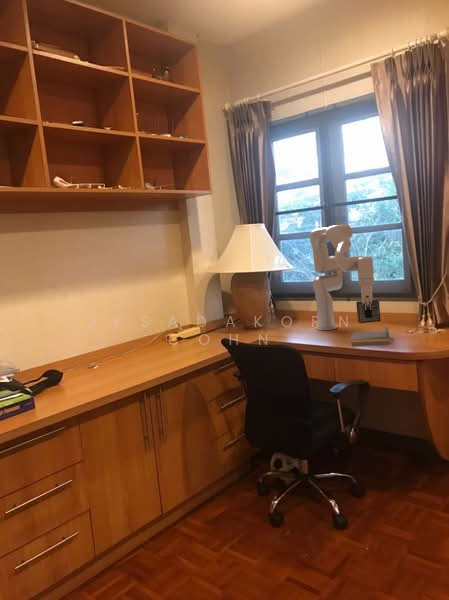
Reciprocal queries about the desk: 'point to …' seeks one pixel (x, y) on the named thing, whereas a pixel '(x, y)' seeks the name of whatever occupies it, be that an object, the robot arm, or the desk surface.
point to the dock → (371, 338)
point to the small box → (361, 309)
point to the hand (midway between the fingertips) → (368, 315)
